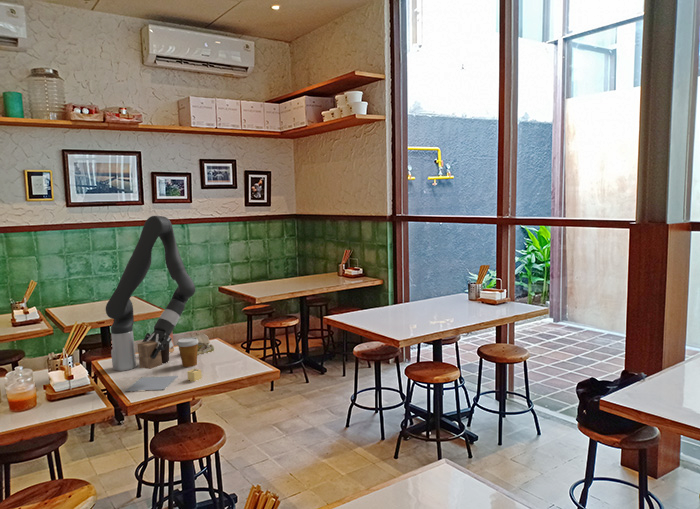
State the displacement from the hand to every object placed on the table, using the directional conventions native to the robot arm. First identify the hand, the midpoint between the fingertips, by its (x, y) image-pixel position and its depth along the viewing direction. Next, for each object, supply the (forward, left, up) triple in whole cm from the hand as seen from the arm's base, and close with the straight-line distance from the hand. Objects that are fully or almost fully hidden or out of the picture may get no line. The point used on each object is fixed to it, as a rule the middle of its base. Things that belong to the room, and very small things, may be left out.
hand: (146, 357), depth 217 cm
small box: (-11, +47, -12) cm, 50 cm away
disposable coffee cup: (+9, +25, -12) cm, 30 cm away
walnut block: (+1, +1, -4) cm, 5 cm away
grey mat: (+1, +1, -12) cm, 12 cm away
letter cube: (+18, +4, -12) cm, 22 cm away
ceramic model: (+7, +47, -12) cm, 49 cm away
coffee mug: (-7, +33, -12) cm, 36 cm away
